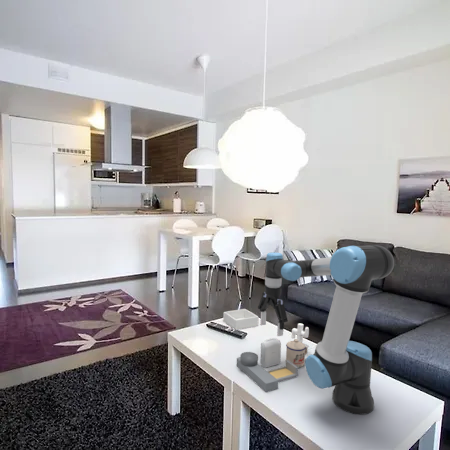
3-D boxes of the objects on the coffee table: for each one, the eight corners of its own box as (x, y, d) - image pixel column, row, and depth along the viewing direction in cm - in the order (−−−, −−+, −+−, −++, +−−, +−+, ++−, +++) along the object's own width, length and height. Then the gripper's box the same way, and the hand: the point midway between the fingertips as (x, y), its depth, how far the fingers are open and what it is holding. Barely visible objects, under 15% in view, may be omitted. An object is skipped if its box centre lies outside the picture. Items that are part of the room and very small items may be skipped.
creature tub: (258, 326, 204) (258, 316, 204) (235, 330, 197) (236, 320, 196) (244, 317, 218) (245, 308, 218) (223, 321, 211) (223, 312, 211)
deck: (304, 380, 144) (305, 366, 144) (263, 392, 134) (264, 377, 134) (271, 356, 165) (272, 343, 165) (234, 365, 155) (235, 352, 155)
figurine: (295, 347, 177) (296, 319, 176) (311, 353, 170) (312, 324, 169) (287, 351, 172) (288, 322, 171) (302, 357, 165) (304, 328, 164)
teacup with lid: (294, 369, 153) (295, 345, 152) (281, 361, 161) (282, 337, 160) (313, 363, 159) (314, 340, 158) (299, 355, 167) (300, 333, 166)
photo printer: (264, 369, 153) (265, 343, 152) (258, 364, 157) (259, 339, 156) (281, 364, 158) (282, 338, 157) (276, 360, 162) (277, 335, 161)
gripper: (297, 292, 145) (294, 339, 147) (264, 278, 167) (262, 319, 169) (283, 294, 142) (281, 342, 144) (252, 280, 164) (250, 321, 166)
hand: (271, 330), depth 156 cm, fingers open, 13 cm apart
